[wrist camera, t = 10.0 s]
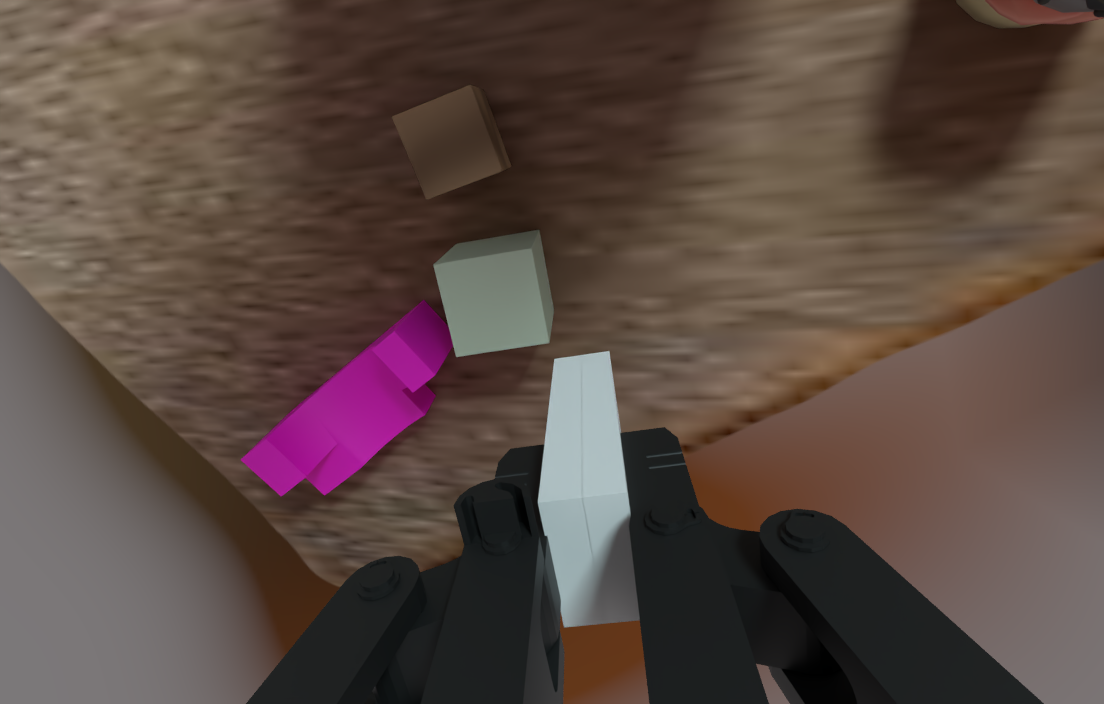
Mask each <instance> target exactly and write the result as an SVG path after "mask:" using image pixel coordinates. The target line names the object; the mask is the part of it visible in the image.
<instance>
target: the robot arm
mask: <svg viewBox="0 0 1104 704" xmlns="http://www.w3.org/2000/svg"><path fill="white" fill-rule="evenodd" d="M454 509H455V512H456V516H457V520H458V523H459V527H460V531H461V534H462V538H463V542H464V549H463V552H462V555H461V556H460V557H458V558H457V559H455V560H453V561H451V562H448V563H446V564H443V565H441V566H438V567H435V568H432V569H429V570H426V571H423V572H420V571H419V568H418V565H417V564H416V563H415V562H414V561H413V560H412V559H410V558H406V557H402V556H393V557H385V558H382V559H379V560H376V561H373V562H370V563H369V564H367V565H365V566H363V567H362V568H360V569H358V570H357V571H356V572H355V573H354V574H353V575H351V576H350V577H349V578H348V579H347V580H346V581H345V582H344V584H343V585H342V586H341V587H340V589H339V590H338V591H337V592H336V594H335V595H334V596H333V597H332V598H331V600H330V601H329V602H328V603H327V605H326V606H325V607H324V608H323V610H322V611H321V612H320V613H319V615H318V616H317V617H316V618H315V620H314V621H313V622H312V623H311V624H310V626H309V627H308V628H307V629H306V630H305V632H304V633H303V634H302V635H301V637H300V638H299V639H298V640H297V642H296V643H295V644H294V645H293V647H292V648H291V649H290V650H289V652H288V653H287V654H286V655H285V656H284V658H283V659H282V660H281V661H280V663H279V664H278V665H277V666H276V667H275V669H274V670H273V671H272V672H271V674H270V675H269V676H268V678H267V679H266V680H265V681H264V682H263V683H262V685H261V686H260V687H259V689H258V690H257V691H256V692H255V693H254V695H253V696H252V697H251V698H250V699H249V701H248V702H247V703H246V704H563V684H564V648H563V643H562V638H561V634H560V611H561V614H562V618H563V623H564V627H572V626H583V625H593V624H603V623H615V622H624V621H635V620H640V626H641V634H642V643H643V651H644V660H645V668H646V677H647V686H648V694H649V703H650V704H769V703H768V700H767V697H766V693H765V690H764V687H763V684H762V681H761V678H760V675H759V672H758V669H757V666H756V664H761V665H766V666H768V667H769V669H770V672H771V675H772V677H773V678H774V679H775V681H776V682H777V684H778V686H779V687H780V689H781V690H782V692H783V693H784V695H785V697H786V698H787V700H788V701H789V703H790V704H1044V703H1042V702H1041V701H1040V700H1039V699H1038V698H1037V697H1036V696H1034V694H1032V693H1031V692H1030V691H1029V690H1028V689H1027V688H1026V687H1025V686H1023V685H1022V684H1021V683H1020V682H1019V681H1018V680H1017V679H1016V678H1015V677H1014V676H1012V675H1011V674H1010V673H1009V672H1008V671H1007V670H1006V669H1005V668H1003V667H1002V666H1001V665H1000V664H999V663H998V662H997V661H996V660H995V659H993V658H992V657H991V656H990V655H989V654H988V653H987V652H985V650H983V649H982V648H981V647H980V646H979V645H978V644H977V643H976V642H975V641H973V640H972V639H971V638H970V637H969V636H968V635H967V634H966V633H965V632H963V631H962V630H961V629H960V628H959V627H958V626H957V625H956V624H955V623H953V622H952V621H951V620H950V619H949V618H948V617H947V616H945V615H944V614H943V613H942V612H941V611H940V610H939V609H938V608H937V607H936V606H934V605H933V604H932V603H931V602H930V601H929V600H928V599H927V598H925V597H924V596H923V595H922V594H921V593H920V592H919V591H918V590H917V589H916V588H914V587H913V586H912V585H911V584H910V583H909V582H908V581H907V580H905V579H904V578H903V577H902V576H901V575H900V574H899V573H898V572H897V571H896V570H894V569H893V568H892V567H891V566H890V565H889V564H888V563H887V562H885V561H884V560H883V559H882V558H881V557H880V556H879V555H878V554H876V553H875V552H874V551H873V550H872V549H871V548H870V547H869V546H868V545H866V544H865V543H864V542H863V541H862V540H861V539H860V538H859V537H858V536H857V535H855V534H854V533H853V532H852V531H851V530H850V529H849V528H848V527H847V526H845V525H844V524H843V523H841V522H840V521H838V520H837V519H835V518H833V517H832V516H829V515H826V514H823V513H820V512H817V511H813V510H803V509H794V510H786V511H780V512H778V513H776V514H774V515H772V516H769V517H768V518H767V519H766V520H765V521H764V522H763V524H762V525H761V527H760V532H755V531H746V530H739V529H734V528H729V527H726V526H723V525H720V524H718V523H716V522H714V521H713V520H711V519H709V518H708V516H707V515H706V513H705V512H704V510H703V509H702V508H701V507H699V505H698V502H697V498H696V495H695V492H694V489H693V485H692V482H691V479H690V476H689V473H688V470H687V466H686V464H685V460H684V457H683V454H682V450H681V447H680V444H679V441H678V438H677V437H676V436H675V435H674V434H672V433H671V432H670V431H668V430H667V429H666V428H665V427H664V428H656V429H648V430H640V431H632V432H625V433H621V428H620V421H619V415H618V408H617V401H616V394H615V388H614V381H613V374H612V367H611V360H610V354H609V351H606V352H599V353H592V354H586V355H579V356H572V357H565V358H558V359H554V367H553V376H552V384H551V393H550V402H549V410H548V419H547V427H546V436H545V444H544V445H536V446H529V447H521V448H513V449H510V450H509V451H508V452H507V453H506V454H505V455H504V457H503V458H502V459H501V460H500V461H499V463H498V467H497V471H496V475H495V479H494V480H490V481H486V482H482V483H480V484H478V485H476V486H473V487H471V488H469V489H468V490H467V491H466V492H464V493H463V494H462V495H460V496H459V498H458V499H457V501H456V503H455V504H454Z"/></svg>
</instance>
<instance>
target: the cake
mask: <svg viewBox="0 0 1104 704" xmlns="http://www.w3.org/2000/svg"><path fill="white" fill-rule="evenodd" d="M956 2H957V4H958V5H959V6H960V7H961V8H962V9H963V10H964V11H966V12H967V13H968V14H969V15H970V16H971V17H972V18H973V19H974V20H976V21H979V22H981V23H984V24H987V25H990V26H993V27H996V28H1025V27H1030V26H1034V25H1038V24H1075V23H1081V22H1086V21H1092V20H1097V19H1103V18H1104V0H956Z"/></svg>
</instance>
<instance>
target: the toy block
mask: <svg viewBox="0 0 1104 704" xmlns="http://www.w3.org/2000/svg"><path fill="white" fill-rule="evenodd" d="M452 347H453V342H452V338H451V334H450V330H449V327H448V326H447V325H446V323H445V322H444V321H443V320H442V319H441V318H440V317H439V316H438V315H437V314H436V312H435V311H434V310H433V309H432V308H431V307H430V306H429V305H428V304H427V302H426V301H425V300H423V301H422V302H420V303H419V304H418V305H417V306H416V307H414V308H413V309H412V310H411V311H410V312H409V313H407V314H406V315H405V316H404V317H403V318H401V319H400V320H399V321H398V322H397V323H395V324H394V325H393V326H392V327H391V328H389V329H388V330H387V331H386V332H385V333H384V334H382V335H381V336H380V337H379V338H378V339H376V340H375V341H374V342H373V343H372V344H370V345H369V346H368V347H367V348H366V349H364V350H363V351H362V352H361V353H360V354H359V355H357V356H356V357H355V358H354V359H353V360H351V361H350V362H349V363H348V364H347V365H345V366H344V367H343V368H342V369H341V370H339V371H338V372H337V373H336V374H335V375H334V376H332V377H331V378H330V379H329V380H328V381H326V382H325V383H324V384H323V385H322V386H320V387H319V388H318V389H317V390H316V391H314V392H313V393H312V394H311V395H310V396H309V397H307V398H306V399H305V400H304V401H303V402H301V403H300V404H299V405H298V406H297V407H295V408H294V409H293V410H292V411H291V412H290V413H289V414H287V415H286V416H285V417H284V418H283V419H282V420H281V421H280V422H279V423H278V424H277V425H276V426H275V427H274V428H273V429H272V430H271V431H270V432H269V433H268V434H267V435H266V436H265V437H264V438H263V439H261V440H260V441H259V442H258V443H257V444H256V445H255V446H254V447H253V448H252V449H251V450H250V451H249V452H248V453H247V454H246V455H245V456H244V457H243V458H242V459H241V461H242V462H244V463H245V464H246V465H247V466H248V467H249V468H250V469H251V470H252V471H253V472H255V473H256V474H257V475H258V476H259V477H260V478H261V479H262V480H263V481H265V482H266V483H267V484H268V485H269V486H270V487H271V488H272V489H273V490H275V491H276V492H277V493H278V494H279V495H280V496H283V495H284V494H285V493H286V492H288V491H289V490H290V489H291V488H293V487H294V486H295V485H297V484H298V483H299V482H300V481H302V480H303V479H304V478H306V479H307V480H308V481H309V482H311V483H312V484H313V485H314V486H315V487H316V488H317V489H318V490H319V491H320V492H321V493H322V494H323V495H326V494H328V493H329V492H330V491H331V490H333V489H334V488H335V487H337V486H338V485H339V484H341V483H342V482H343V481H344V480H346V479H347V478H348V477H350V476H351V475H352V474H354V473H355V472H356V471H358V470H359V469H360V468H361V467H362V466H363V465H364V464H365V463H366V462H367V461H368V460H369V459H370V458H372V457H373V456H374V455H375V454H376V453H377V452H378V451H379V450H380V449H381V448H382V447H383V446H384V445H386V444H387V443H388V442H389V441H390V440H391V439H392V438H394V437H395V436H396V435H397V434H399V433H400V432H401V431H402V430H404V429H405V428H406V427H408V426H409V425H410V424H412V423H413V422H415V421H416V420H418V419H419V418H421V417H423V416H424V415H426V413H427V411H428V409H429V407H430V406H431V404H432V402H433V400H434V398H435V397H436V395H435V394H434V393H433V392H432V391H431V390H430V389H429V388H428V387H427V386H426V385H425V383H426V382H427V381H429V380H430V379H431V378H432V377H434V376H435V375H436V373H437V372H438V370H439V368H440V367H441V365H442V363H443V362H444V360H445V358H446V357H447V355H448V353H449V352H450V350H451V348H452Z"/></svg>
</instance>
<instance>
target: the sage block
mask: <svg viewBox="0 0 1104 704" xmlns="http://www.w3.org/2000/svg"><path fill="white" fill-rule="evenodd" d="M433 266H434V270H435V274H436V278H437V282H438V286H439V290H440V294H441V298H442V302H443V306H444V310H445V314H446V318H447V322H448V326H449V330H450V334H451V338H452V342H453V346H454V350H455V354H456V357H460V356H467V355H473V354H480V353H487V352H493V351H500V350H507V349H513V348H520V347H526V346H533V345H540V344H546V343H549V342H550V335H551V328H552V322H553V315H554V308H553V302H552V297H551V291H550V286H549V280H548V275H547V269H546V264H545V258H544V253H543V247H542V242H541V236H540V231H539V230H534V231H528V232H522V233H516V234H510V235H505V236H499V237H493V238H487V239H481V240H475V241H469V242H464V243H458V244H455V245H454V246H453V247H452V248H451V249H450V250H449V251H448V252H447V253H446V254H444V255H443V256H442V257H441V258H440V259H439V260H438V261H437V262H436V263H434V264H433Z"/></svg>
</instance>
